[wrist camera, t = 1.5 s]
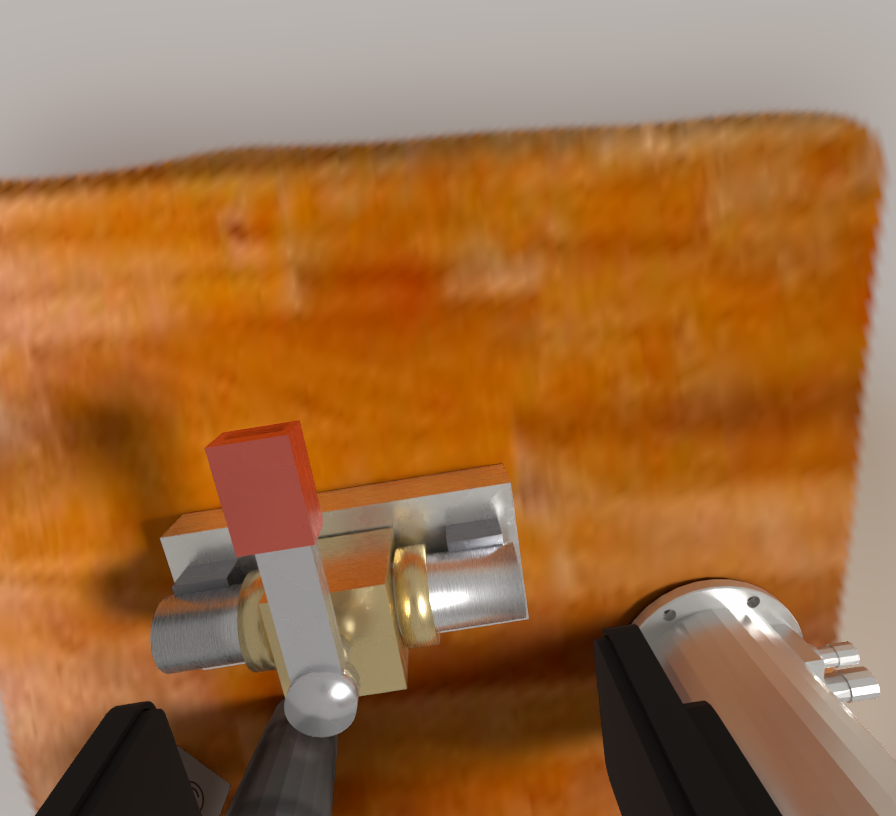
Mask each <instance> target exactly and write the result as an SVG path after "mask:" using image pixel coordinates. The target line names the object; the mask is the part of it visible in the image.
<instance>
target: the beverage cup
mask: <svg viewBox="0 0 896 816" xmlns="http://www.w3.org/2000/svg"><path fill="white" fill-rule="evenodd" d="M284 702H285V698H284V699H283V700H281V701H280V703H279V704H278V705H277V706H276V708H275V711H274V714H273V715H272V717H271V719H270V721H269V723H268V724H267V725H266V728H265V730H264V732H263V734H262V736H261V739H260V741H259V743H258V745H257V747H256V750H255V752H254V754H253V756H252V758H251V761H250V763H249V765H248V767H247V769H246V772H245V774H244V776H243V778H242V780H241V783H240V785H239V787H238V789H237V791H236V794H235V796H234V798H233V800H232V802H231V805H230V807H229V809H228V811H227V813H226V815H225V816H331V815H332V804H333V792H334V780H335V769H336V757H337V745H338V734H336V735H333V736H329V737H313V736H309V735H306V734H303V733H301V732H300V731H298V730H297V729H295V728H294V727H293V726H292V725H291V724H290V723H289V721H288V719H287V718H286V715H285V711H284Z"/></svg>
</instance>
